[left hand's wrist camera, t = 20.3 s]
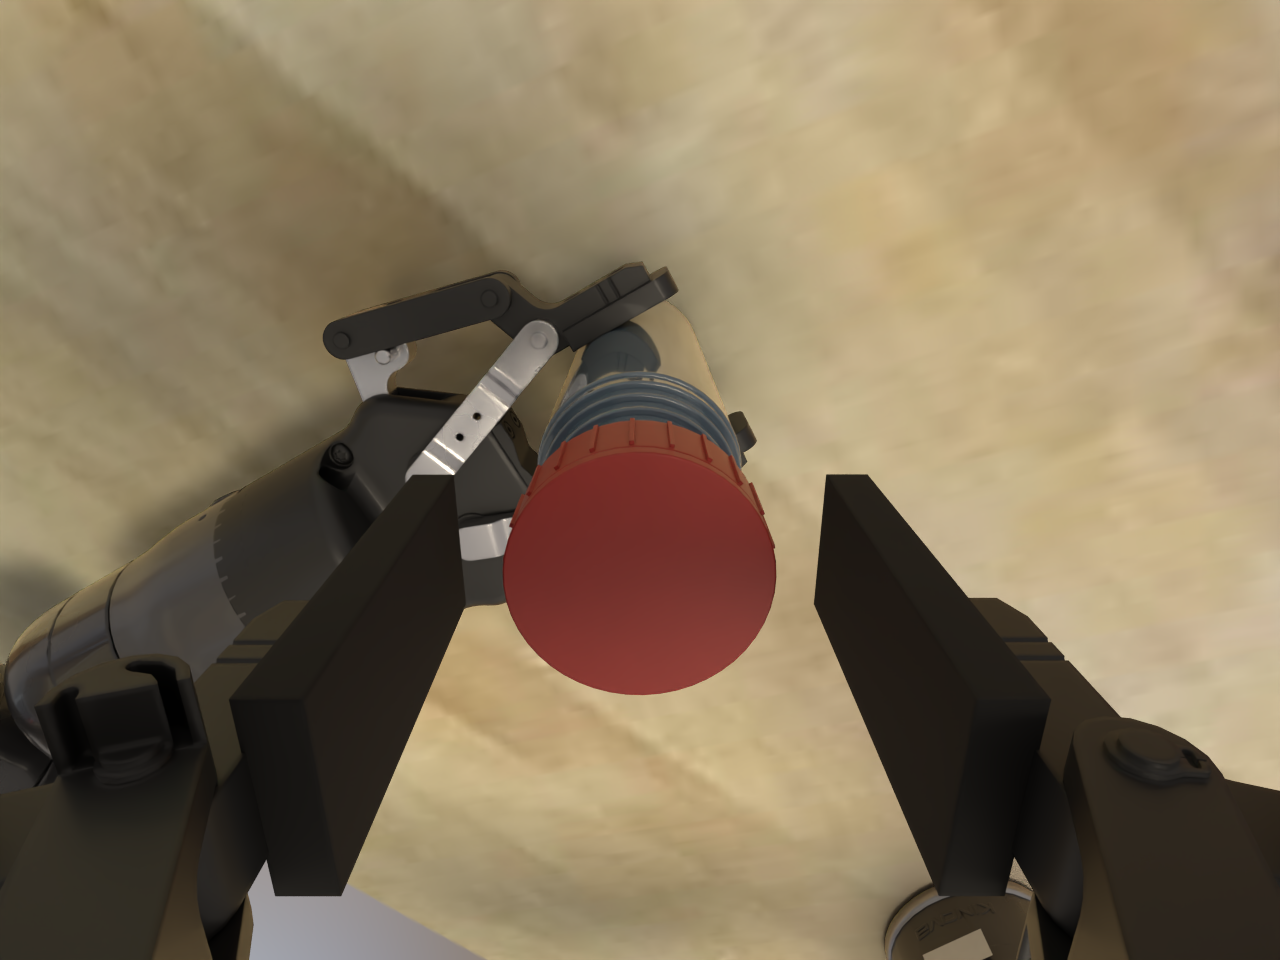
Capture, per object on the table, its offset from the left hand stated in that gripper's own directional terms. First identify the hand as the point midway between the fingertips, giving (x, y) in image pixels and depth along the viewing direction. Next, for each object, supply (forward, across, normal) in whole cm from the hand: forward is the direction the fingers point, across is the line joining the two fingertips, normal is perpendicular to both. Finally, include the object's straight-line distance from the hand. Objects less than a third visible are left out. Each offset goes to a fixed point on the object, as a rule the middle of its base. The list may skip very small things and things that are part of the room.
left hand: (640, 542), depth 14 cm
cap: (-1, 0, 0) cm, 1 cm away
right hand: (+11, -2, -1) cm, 12 cm away
